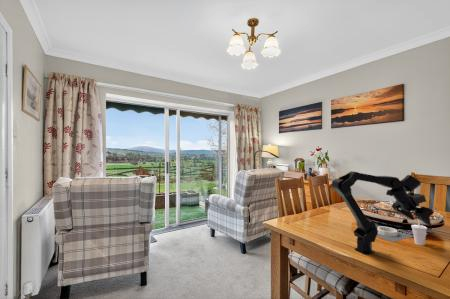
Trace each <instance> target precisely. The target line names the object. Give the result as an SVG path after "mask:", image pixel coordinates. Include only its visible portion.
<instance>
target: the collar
mask: <svg viewBox="0 0 450 299" xmlns="http://www.w3.org/2000/svg"><path fill="white" fill-rule="evenodd" d="M377 227H378V228H377V230H378V233H379V234H381V235H384V236H391V237H395V236H397V231H398V230H397V229H396V228H393V227H389V226H383V225H381V226H380V225H379V226H377Z"/></svg>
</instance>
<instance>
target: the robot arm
mask: <svg viewBox="0 0 450 299" xmlns="http://www.w3.org/2000/svg"><path fill="white" fill-rule="evenodd" d="M357 181H361V182H362V181H363V182H369V183H373V184H377V185H378V186H382V187H385V188H388V189H387V190H386V192H385V195H386V196H390V197H393V198H394V199H395V202H394V203H393V204H391V208H392V209H393V210H394V211H396V212H398V213H399V214H401V215H403V216H405V217H407V218H408V219H410V220H412V221H413V220H415V217H416V218H417V220H418V219H419V220H420V221H421V223H423V224H425V225H426V226H428V227H431V226H432V223H431V219H430V218H431V217H432V215H434V214H435V212H434V209H433V208H430V207H427V206H421V207H419V206H420V204H422V203H426V202H427V199H426V196H425V195H424V194H421V193H414V192H413V191H415V190H416V189H417V188H418V187H420V186H421V185H422V184H421V181H420V180H419V179H417V178H415V177H414V176H413V175H410V174H407V175H406V176H405V177H404V178H403V179H401V180H400V178H399V177H396V176H389V175H372V174H366V173H362V172H358V171H349V172H348V173H346V174H344V175H341V176H339V177H338V178H335V179H333V180H332V181H331V187H332V188H333V190H334V191H335V192H336V193H337V194H338V195H339V196H340V197H342V199H343V201H344V202H345V204H346V206H347V207H348V209H349V211H350V212H351V214H352V216H353V217H354V219H355V220H356V221H355V222H356V228H355V230H353V235H354V236H355V237H357V238H356V247H354V250H355V251H356V252H360V253H362V254H363V255H370V254H374V253H376V251H375V250H374V249H373V244H372V243H375V241H376V238H377V233H378V230H377V228H378V227H379V226H377V225H376V224H375V221H374V220H372V219H370V218H368V217H366V215H365V214H364V212H363V210H362V209H361V207H360V205H359V204H358V202H357V201H356V199H355V197H354V196H353V193H352V186H354V185H355V183H356V182H357ZM412 212H414V216H415V217H414V216H413V214H412Z"/></svg>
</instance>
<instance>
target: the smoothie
mask: <svg viewBox="0 0 450 299" xmlns="http://www.w3.org/2000/svg"><path fill="white" fill-rule="evenodd" d="M420 221H421V220H419V219H418V218H417V224H411V225H410V226H411V229H412V230H411V231H412V235H413V239H414V244H416V245H417V246H425V244H426V237H427V231H428V227H426V226H425V225H422V224H421V225H420Z"/></svg>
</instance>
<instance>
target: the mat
mask: <svg viewBox="0 0 450 299" xmlns="http://www.w3.org/2000/svg"><path fill="white" fill-rule="evenodd" d="M402 232H403V231H400V232H397V236H395V237H391V236H384V235H381V234H379V233H377V236H376V238H381V239H383V240H386V241H389V242H392V243H395V242H398V241H399V242H400V241H403V240H406V239H411V238H414V236H413V234H409V233H407V234H406V232H403V233H402Z"/></svg>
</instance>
